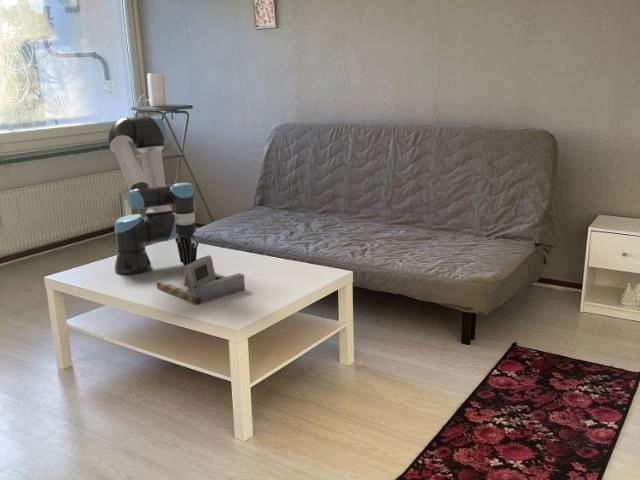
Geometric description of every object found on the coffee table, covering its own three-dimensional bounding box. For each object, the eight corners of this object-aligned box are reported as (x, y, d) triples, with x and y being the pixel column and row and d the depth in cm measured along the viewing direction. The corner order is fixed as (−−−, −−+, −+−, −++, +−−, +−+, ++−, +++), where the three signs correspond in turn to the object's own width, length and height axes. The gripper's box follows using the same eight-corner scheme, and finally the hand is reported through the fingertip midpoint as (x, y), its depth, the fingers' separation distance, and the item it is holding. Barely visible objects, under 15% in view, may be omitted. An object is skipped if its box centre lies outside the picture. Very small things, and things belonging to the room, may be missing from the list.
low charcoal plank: (192, 302, 233) (190, 287, 231) (240, 287, 247) (239, 273, 246) (196, 304, 231) (195, 289, 229) (244, 289, 245) (244, 274, 244)
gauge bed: (156, 287, 250) (156, 281, 250) (203, 274, 265) (203, 268, 264) (196, 304, 231) (196, 297, 230) (244, 289, 245) (244, 283, 245)
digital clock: (191, 294, 241) (193, 269, 238) (175, 286, 246) (177, 261, 242) (221, 284, 254) (224, 260, 250) (206, 276, 258) (208, 252, 255)
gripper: (167, 222, 248) (172, 279, 254) (186, 227, 239) (190, 286, 245) (184, 219, 253) (188, 275, 259) (202, 223, 244) (206, 282, 250)
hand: (189, 280), depth 252 cm, fingers closed
